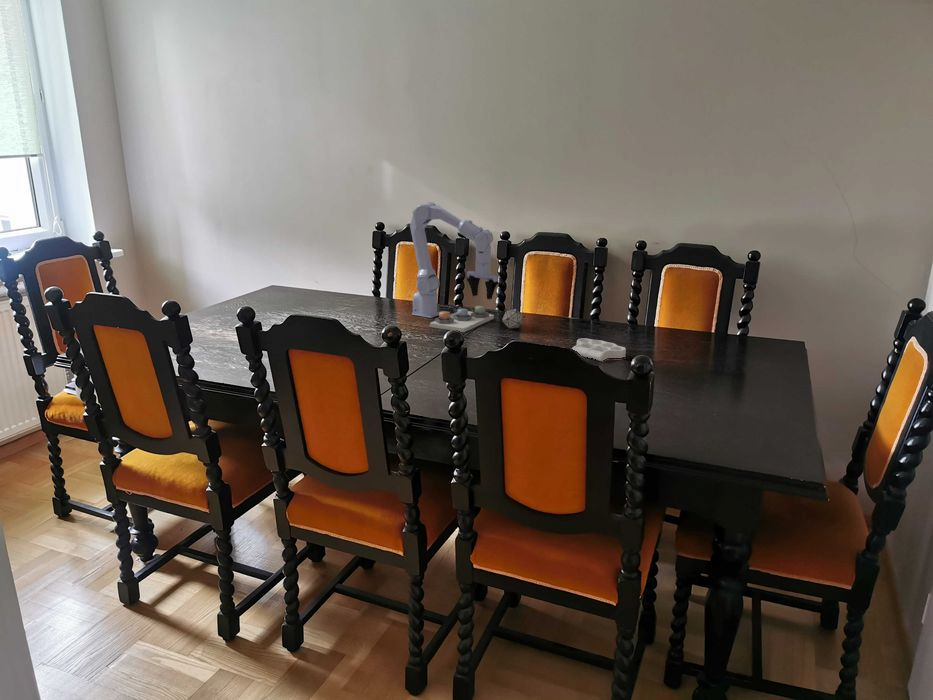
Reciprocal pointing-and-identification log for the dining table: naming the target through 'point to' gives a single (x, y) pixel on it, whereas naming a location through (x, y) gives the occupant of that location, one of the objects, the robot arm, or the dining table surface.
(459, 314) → the button blue
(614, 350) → the grey hollowed tray
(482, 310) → the button green
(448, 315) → the button terracotta
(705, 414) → the dining table surface
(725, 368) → the dining table surface
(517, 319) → the game die
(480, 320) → the button panel
